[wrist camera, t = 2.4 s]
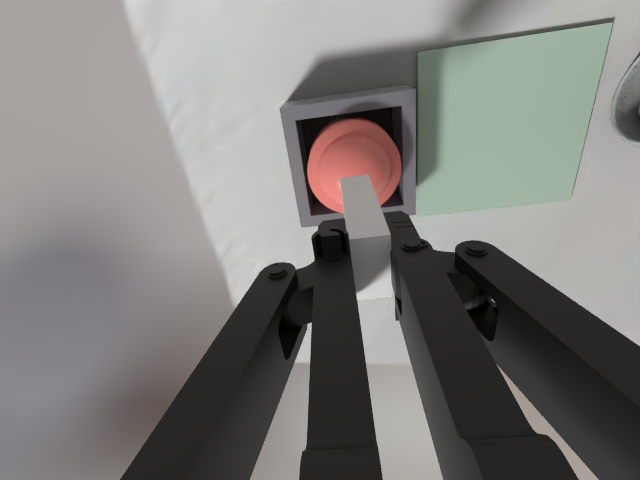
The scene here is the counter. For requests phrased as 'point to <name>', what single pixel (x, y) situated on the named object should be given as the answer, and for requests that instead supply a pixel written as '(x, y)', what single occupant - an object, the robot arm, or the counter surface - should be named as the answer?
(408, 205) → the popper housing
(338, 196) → the red dome
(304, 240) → the counter surface
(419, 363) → the robot arm
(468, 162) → the sage square
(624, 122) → the ceramic mug
